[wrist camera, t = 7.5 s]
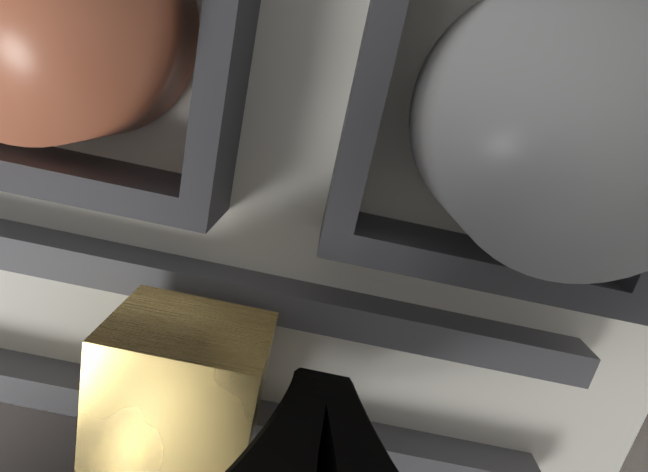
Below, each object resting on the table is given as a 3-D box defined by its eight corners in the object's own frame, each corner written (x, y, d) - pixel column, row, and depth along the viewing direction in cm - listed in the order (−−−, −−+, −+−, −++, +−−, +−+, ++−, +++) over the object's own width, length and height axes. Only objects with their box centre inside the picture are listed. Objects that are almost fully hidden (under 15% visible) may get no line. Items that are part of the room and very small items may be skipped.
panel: (575, 467, 15) (644, 577, 11) (-481, 258, 14) (-745, 312, 10) (789, 1, 11) (992, -40, 7) (-675, -341, 10) (-1206, -567, 6)
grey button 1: (603, 256, 10) (691, 311, 7) (383, 209, 9) (397, 249, 7) (704, 12, 8) (854, -20, 6) (448, -47, 8) (493, -105, 6)
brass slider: (257, 425, 12) (226, 553, 9) (145, 404, 12) (71, 524, 9) (285, 290, 11) (261, 377, 8) (161, 264, 11) (81, 341, 8)
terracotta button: (185, 154, 11) (140, 172, 8) (-21, 110, 10) (-129, 116, 8) (214, -79, 9) (169, -139, 7) (-23, -133, 9) (-153, -213, 7)
